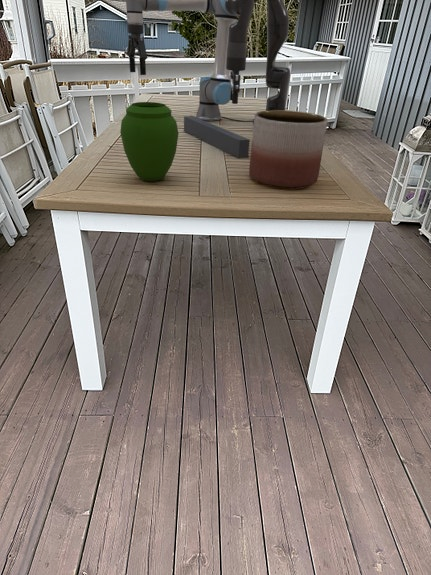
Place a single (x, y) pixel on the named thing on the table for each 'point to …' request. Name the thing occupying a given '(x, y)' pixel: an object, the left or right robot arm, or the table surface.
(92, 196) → the table surface
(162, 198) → the table surface
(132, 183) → the table surface
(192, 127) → the beam
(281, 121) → the planter
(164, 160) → the vase
